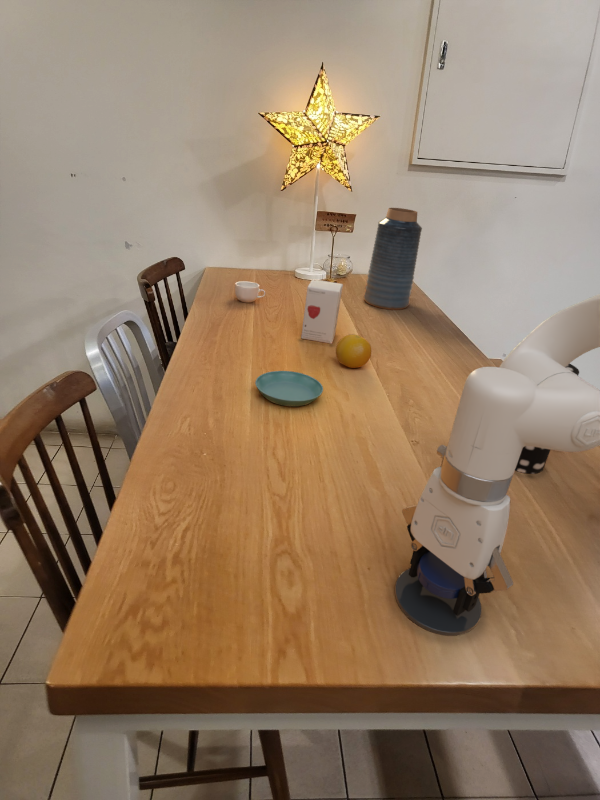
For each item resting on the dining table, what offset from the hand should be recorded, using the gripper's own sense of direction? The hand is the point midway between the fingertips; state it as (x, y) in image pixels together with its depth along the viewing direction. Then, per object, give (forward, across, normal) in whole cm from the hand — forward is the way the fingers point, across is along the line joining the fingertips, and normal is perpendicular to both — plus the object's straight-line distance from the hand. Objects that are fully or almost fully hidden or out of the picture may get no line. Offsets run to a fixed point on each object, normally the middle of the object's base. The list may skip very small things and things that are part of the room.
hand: (439, 589), depth 69 cm
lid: (-3, 0, 0) cm, 3 cm away
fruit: (+2, -62, +42) cm, 75 cm away
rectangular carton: (+2, -82, +48) cm, 95 cm away
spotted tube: (+2, -13, +42) cm, 44 cm away
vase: (+2, -99, +93) cm, 136 cm away
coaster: (+2, 0, 0) cm, 2 cm away
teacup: (+2, -117, +48) cm, 126 cm away
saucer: (+2, -56, +18) cm, 59 cm away
